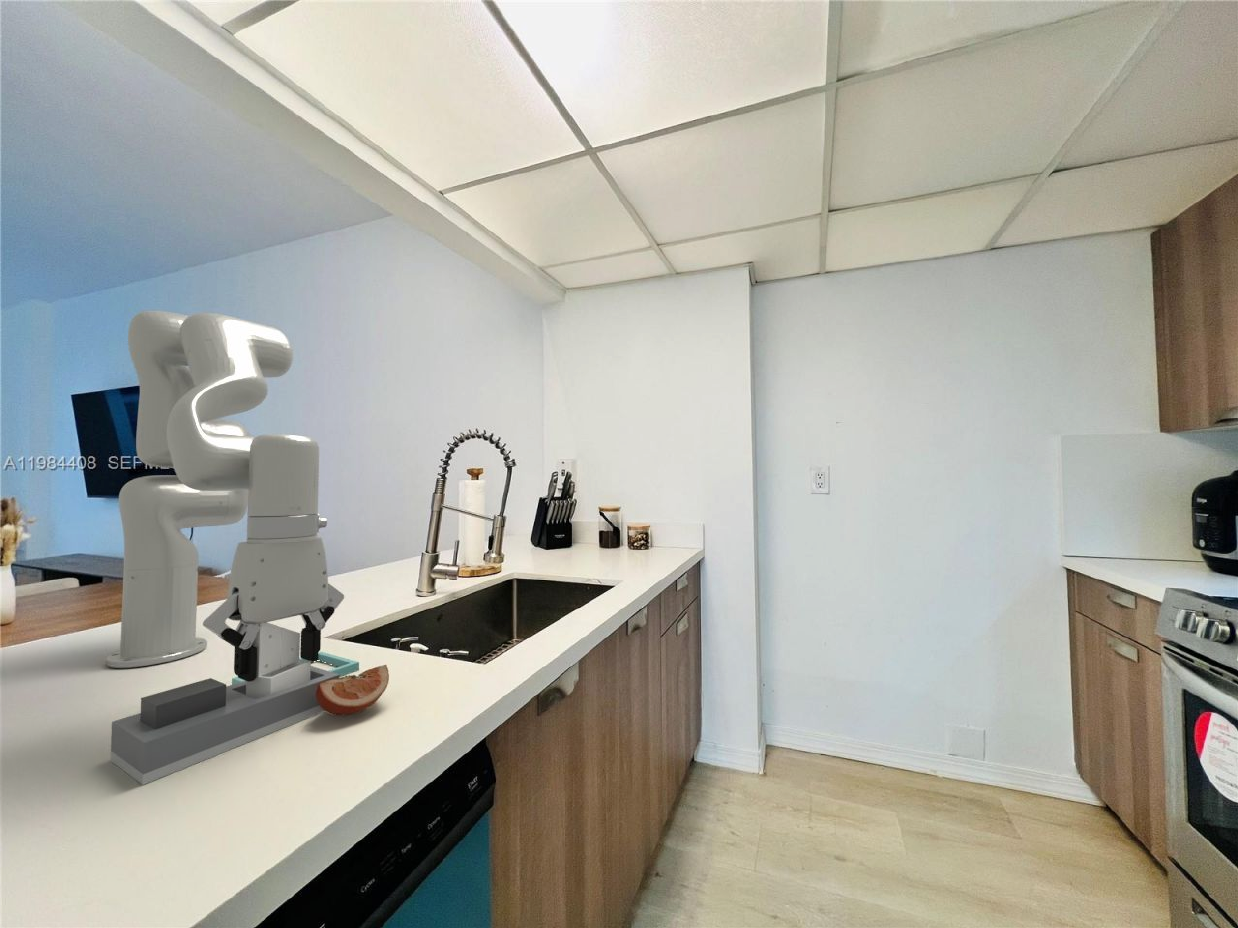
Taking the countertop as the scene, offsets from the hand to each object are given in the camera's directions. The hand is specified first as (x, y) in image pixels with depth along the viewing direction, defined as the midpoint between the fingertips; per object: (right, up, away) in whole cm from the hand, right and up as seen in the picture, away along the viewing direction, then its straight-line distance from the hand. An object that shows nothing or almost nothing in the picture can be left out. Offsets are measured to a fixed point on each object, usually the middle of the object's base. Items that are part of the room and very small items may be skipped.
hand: (279, 667), depth 61 cm
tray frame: (-5, -6, +11) cm, 14 cm away
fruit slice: (+10, -6, 0) cm, 11 cm away
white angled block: (0, -3, 0) cm, 3 cm away
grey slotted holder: (-2, -6, -4) cm, 7 cm away
